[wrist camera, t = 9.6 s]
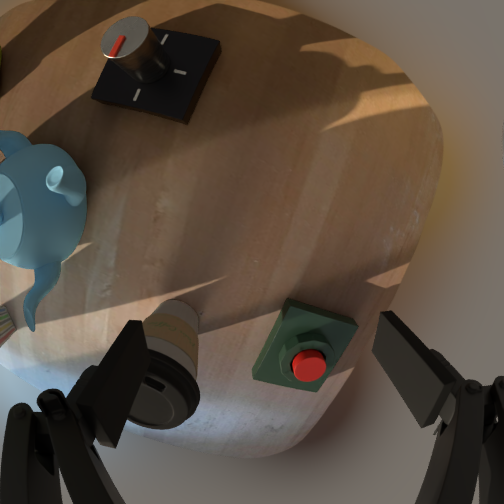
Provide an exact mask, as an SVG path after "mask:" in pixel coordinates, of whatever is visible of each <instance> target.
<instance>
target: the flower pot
mask: <svg viewBox="0 0 504 504" xmlns="http://www.w3.org/2000/svg"><path fill="white" fill-rule="evenodd" d="M1 58H2V50H1V46H0V69H1Z"/></svg>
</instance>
